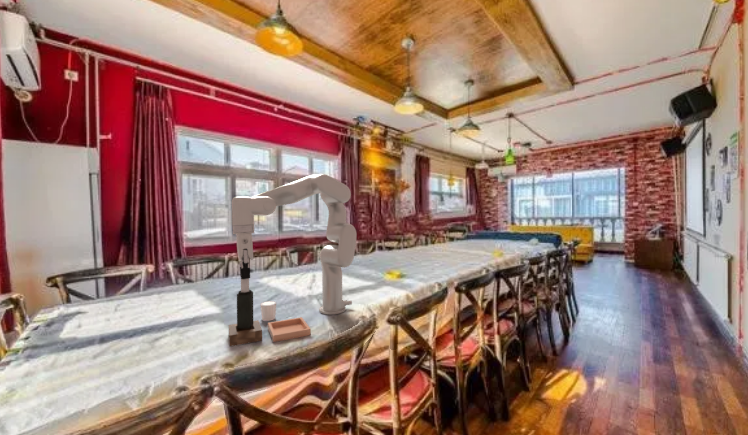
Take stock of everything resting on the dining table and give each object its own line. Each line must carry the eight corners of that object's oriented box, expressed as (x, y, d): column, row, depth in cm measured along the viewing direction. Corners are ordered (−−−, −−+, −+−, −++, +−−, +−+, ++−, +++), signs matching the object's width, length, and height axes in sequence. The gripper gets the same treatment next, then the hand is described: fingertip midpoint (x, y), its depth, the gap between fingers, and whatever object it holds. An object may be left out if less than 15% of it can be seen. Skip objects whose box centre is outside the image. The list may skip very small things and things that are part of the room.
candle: (240, 323, 120) (240, 259, 119) (254, 323, 120) (253, 259, 119) (236, 328, 115) (235, 262, 114) (250, 328, 115) (249, 262, 114)
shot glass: (271, 321, 134) (271, 306, 133) (257, 320, 135) (257, 305, 135) (279, 316, 140) (279, 301, 140) (265, 315, 142) (265, 300, 141)
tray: (301, 322, 132) (301, 317, 132) (310, 335, 120) (310, 328, 120) (267, 328, 126) (267, 322, 126) (273, 342, 114) (273, 335, 114)
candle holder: (258, 329, 125) (258, 320, 125) (262, 340, 115) (262, 329, 115) (228, 335, 120) (228, 324, 120) (229, 346, 110) (229, 335, 110)
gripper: (256, 230, 110) (258, 281, 111) (252, 227, 125) (253, 272, 126) (233, 231, 107) (235, 283, 108) (231, 228, 122) (233, 274, 123)
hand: (245, 277), depth 117 cm, fingers closed on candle, 2 cm apart
